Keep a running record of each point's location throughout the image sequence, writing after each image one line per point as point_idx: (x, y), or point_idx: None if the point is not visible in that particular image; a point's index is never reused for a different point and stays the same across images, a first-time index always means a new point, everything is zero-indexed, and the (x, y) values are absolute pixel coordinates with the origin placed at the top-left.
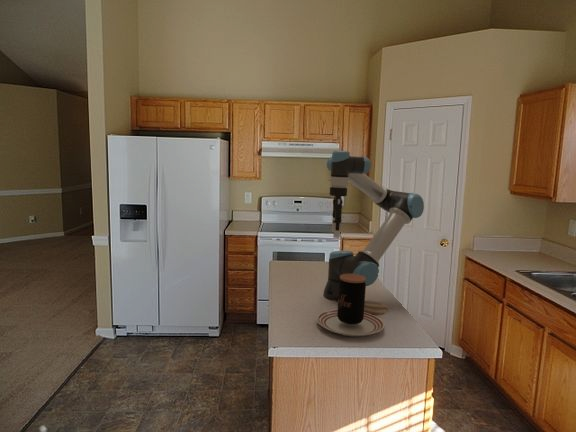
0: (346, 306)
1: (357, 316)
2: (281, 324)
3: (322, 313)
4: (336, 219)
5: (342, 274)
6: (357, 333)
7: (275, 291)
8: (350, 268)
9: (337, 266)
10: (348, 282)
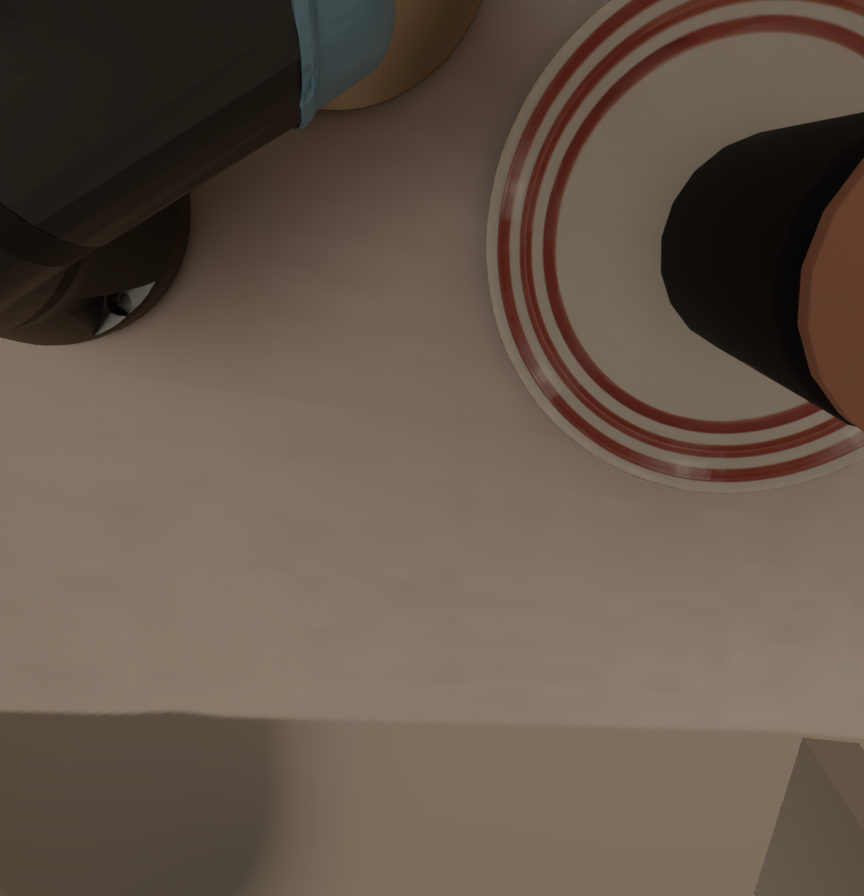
0: None
1: None
2: (676, 684)
3: (579, 432)
4: None
5: (854, 409)
6: None
7: (52, 696)
8: (218, 142)
9: (16, 291)
10: None
